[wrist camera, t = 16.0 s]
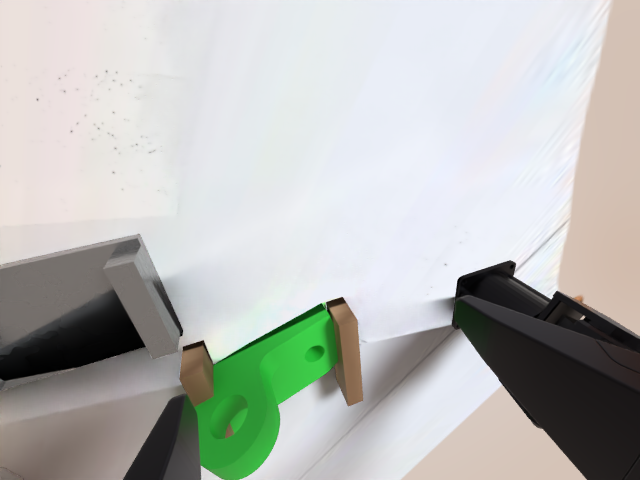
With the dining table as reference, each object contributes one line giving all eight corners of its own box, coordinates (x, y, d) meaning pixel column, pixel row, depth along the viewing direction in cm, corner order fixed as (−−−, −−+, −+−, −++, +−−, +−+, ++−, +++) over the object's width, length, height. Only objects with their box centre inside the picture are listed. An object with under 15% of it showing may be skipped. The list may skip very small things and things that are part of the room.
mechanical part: (228, 413, 27) (243, 519, 20) (190, 379, 24) (191, 490, 17) (342, 341, 29) (389, 416, 22) (319, 300, 25) (367, 373, 19)
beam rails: (342, 296, 25) (357, 320, 23) (350, 374, 30) (363, 400, 28) (182, 346, 23) (179, 379, 20) (219, 423, 27) (220, 457, 25)
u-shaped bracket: (139, 233, 18) (129, 253, 16) (183, 330, 22) (180, 356, 20) (-112, 289, 15) (-165, 322, 13) (-12, 388, 19) (-41, 426, 17)
